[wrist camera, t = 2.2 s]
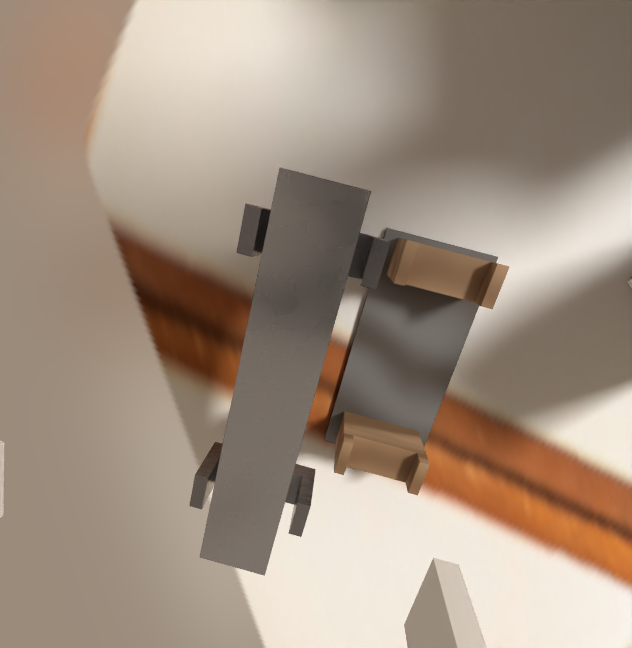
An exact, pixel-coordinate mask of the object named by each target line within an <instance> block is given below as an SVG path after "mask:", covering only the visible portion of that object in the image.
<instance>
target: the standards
mask: <svg viewBox="0 0 632 648" xmlns="http://www.w3.org/2000/svg"><path fill="white" fill-rule="evenodd" d="M270 213H271V209H267V208H263V207H259V206H254V205H250V204H246V205H245V210H244V216H243V221H242V226H241V232H240V237H239V242H238V248H237V253H239V254H243V255H247V256H251V257H253V256H256V255H259V254H262V251H263V247H264V242H265V237H266V232H267V227H268V222H269V217H270ZM389 245H390V241H387V240H385V239H381V238H377V237H374V236H370V235H366V234H362V233H359V237H358V240H357V244H356V247H355V251H354V255H353V258H352V262H351V266H350V269H349V273H348V276H351V277H354V278H358V279H359V281H360V285H361V286H364V287H368V288H372V289H376V288H377V285H378V282H379V278H380V275H381V272H382V269H383V265H384V262H385V259H386V255H387V252H388V249H389ZM222 446H223V444H221V443H217V442H215V443H214V445H213V447H212V448H211V450H210V451H209V453H208V455H207V456H206V458H205V460H204V461H203V463H202V464H201V466H200V468H199V469H198V471H197V473H196V474H195V479H194V484H193V490H192V495H191V501H190V506H192V507H196V508H199V509H202V508H203V506H204V504H205V502H206V500H207V498H208V496H209V495H210V493H211V491H212V489H213V487H214V485H215V480H216V475H217V470H218V465H219V460H220V456H221V451H222ZM314 476H315V469H312V468H309V467H305V466H301V465H298V464H295V468H294V471H293V475H292V478H291V482H290V486H289V489H288V493H287V496H286V500H285V502H287V503H291V504H294V509H293V514H292V519H291V524H290V530H289V534H293V535H296V536H300V537H301V536H302V533H303V529H304V526H305V523H306V519H307V516H308V513H309V510H310V506H311V499H312V491H313V484H314Z"/></svg>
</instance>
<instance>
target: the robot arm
mask: <svg viewBox="0 0 632 648" xmlns="http://www.w3.org/2000/svg"><path fill="white" fill-rule="evenodd" d="M3 496H4V442H3V441H0V517H2V516H3ZM404 626H405V633H406V640H407V646H408V648H487V647H486V644H485V641H484V638H483V635H482V632H481V629H480V626H479V623H478V620H477V617H476V614H475V611H474V608H473V606H472V603H471V600H470V597H469V594H468V591H467V588H466V585H465V582H464V579H463V576H462V573H461V570H460V567H459V565H457V564H454V563H450V562H446V561H443V560H439V559H435V558H433V560H432V562H431V565H430V567H429V569H428V572H427V574H426V576H425V578H424V581H423V583H422V585H421V588H420V590H419V592H418V594H417V597H416V599H415V601H414V604H413V606H412V608H411V610H410V613H409V615H408V617H407V620H406V622H405V624H404Z"/></svg>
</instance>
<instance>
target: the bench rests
mask: <svg viewBox="0 0 632 648" xmlns="http://www.w3.org/2000/svg"><path fill="white" fill-rule="evenodd" d="M384 239H385V240H387V241H390V245H389V249H388V252H387V255H386V259H385V262H384V265H383V269H382V272H381V275H380V278H379V282H378V285H377V288H376V289H372V288H369V290H368V294H367V297H366V300H365V304H364V307H363V310H362V314H361V317H360V321H359V324H358V327H357V331H356V334H355V337H354V341H353V344H352V347H351V351H350V354H349V358H348V361H347V364H346V368H345V371H344V374H343V378H342V381H341V385H340V388H339V391H338V395H337V398H336V401H335V405H334V408H333V411H332V415H331V418H330V422H329V425H328V428H327V432H326V435H325V439H324V440H325V441H328V442H332V443H336V446H335V464H334V472H335V473H338V474H342V475H344V472H345V469H346V466H347V467H351V468H355V469H358V470H362V471H366V472H369V473H373V474H377V475H380V476H384V477H388V478H391V479H395V480H399V481H402V482H406V486H407V490H408V493H411V494H415V495H418V493H419V490H420V488H421V486H422V483H423V481H424V478H425V476H426V473H427V471H428V468H429V466H430V464H429V461H428V458H427V455H426V452H425V449H424V446H425V443H426V441H427V438H428V435H429V433H430V430H431V428H432V425H433V423H434V420H435V418H436V415H437V412H438V410H439V407H440V405H441V402H442V400H443V397H444V394H445V392H446V389H447V387H448V384H449V382H450V379H451V377H452V374H453V371H454V369H455V366H456V364H457V361H458V359H459V356H460V353H461V351H462V348H463V346H464V343H465V341H466V338H467V336H468V333H469V330H470V328H471V325H472V323H473V320H474V318H475V315H476V312H477V310H478V307H479V305H480V306H482V307H486V308H490V309H493V306H494V304H495V302H496V299H497V297H498V294H499V292H500V289H501V287H502V284H503V282H504V279H505V277H506V274H507V272H508V269H509V266H505V265H501V264H497V263H496V261H497V259H498V257H496V256H492V255H488V254H484V253H480V252H477V251H473V250H469V249H465V248H461V247H457V246H454V245H450V244H446V243H442V242H438V241H435V240H431V239H427V238H423V237H419V236H415V235H412V234H408V233H404V232H400V231H396V230H393V229H389V228H387V230H386V233H385V236H384Z"/></svg>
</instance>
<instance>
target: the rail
mask: <svg viewBox="0 0 632 648" xmlns="http://www.w3.org/2000/svg"><path fill="white" fill-rule="evenodd" d="M370 193H371V191H368V190H364V189H360V188H356V187H352V186H349V185H345V184H341V183H337V182H333V181H329V180H325V179H322V178H318V177H314V176H310V175H306V174H302V173H299V172H295V171H291V170H287V169H283V168H280V169H279V174H278V179H277V183H276V188H275V193H274V198H273V203H272V208H271V213H270V217H269V222H268V227H267V232H266V237H265V242H264V247H263V251H262V256H261V261H260V266H259V271H258V276H257V281H256V285H255V290H254V295H253V300H252V305H251V310H250V315H249V319H248V324H247V329H246V334H245V339H244V344H243V349H242V354H241V358H240V363H239V368H238V373H237V378H236V383H235V388H234V392H233V397H232V402H231V407H230V412H229V417H228V422H227V426H226V431H225V436H224V441H223V446H222V451H221V456H220V460H219V465H218V470H217V475H216V480H215V485H214V490H213V494H212V499H211V504H210V509H209V514H208V519H207V524H206V529H205V533H204V538H203V543H202V548H201V553H200V558H204V559H207V560H211V561H215V562H218V563H222V564H226V565H229V566H233V567H236V568H240V569H243V570H247V571H250V572H254V573H258V574H261V575H265V572H266V569H267V565H268V561H269V558H270V554H271V551H272V547H273V543H274V540H275V536H276V533H277V529H278V525H279V522H280V518H281V515H282V511H283V507H284V504H285V500H286V496H287V493H288V489H289V486H290V482H291V478H292V475H293V471H294V468H295V464H296V460H297V457H298V453H299V450H300V446H301V442H302V439H303V435H304V432H305V428H306V424H307V421H308V417H309V413H310V410H311V406H312V403H313V399H314V395H315V392H316V388H317V385H318V381H319V377H320V374H321V370H322V367H323V363H324V359H325V356H326V352H327V349H328V345H329V341H330V338H331V334H332V330H333V327H334V323H335V320H336V316H337V312H338V309H339V305H340V302H341V298H342V294H343V291H344V287H345V284H346V280H347V276H348V273H349V269H350V266H351V262H352V258H353V255H354V251H355V247H356V244H357V240H358V237H359V233H360V229H361V226H362V222H363V219H364V215H365V211H366V208H367V204H368V201H369V197H370Z"/></svg>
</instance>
